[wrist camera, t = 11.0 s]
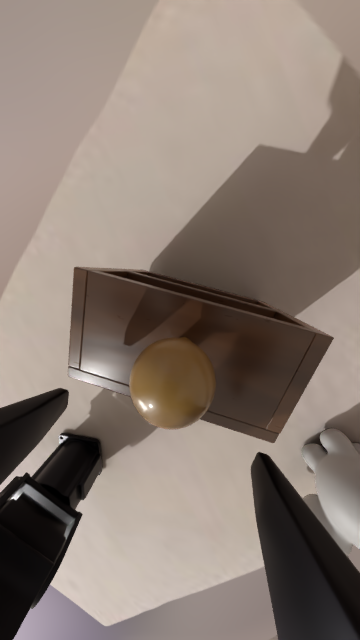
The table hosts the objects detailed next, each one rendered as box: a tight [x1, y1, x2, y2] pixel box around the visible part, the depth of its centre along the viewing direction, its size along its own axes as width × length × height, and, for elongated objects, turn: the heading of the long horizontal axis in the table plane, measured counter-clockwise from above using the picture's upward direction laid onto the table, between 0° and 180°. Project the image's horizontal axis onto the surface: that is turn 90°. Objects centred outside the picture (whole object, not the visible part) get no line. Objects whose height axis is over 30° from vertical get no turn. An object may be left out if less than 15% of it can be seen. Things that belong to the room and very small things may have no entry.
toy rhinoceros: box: [302, 428, 360, 557], centre depth 17 cm, size 7×12×8 cm, turn 146°
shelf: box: [68, 267, 334, 443], centre depth 12 cm, size 14×13×7 cm
